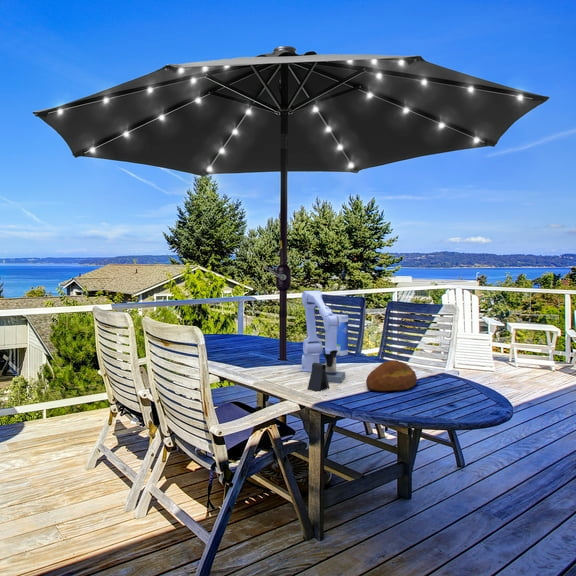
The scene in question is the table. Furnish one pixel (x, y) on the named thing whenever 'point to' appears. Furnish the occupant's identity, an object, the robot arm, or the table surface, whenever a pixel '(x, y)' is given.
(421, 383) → the table surface
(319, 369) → the phone stand
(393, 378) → the bread
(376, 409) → the table surface
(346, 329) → the string lights box
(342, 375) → the socket block
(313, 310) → the robot arm
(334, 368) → the square peg
